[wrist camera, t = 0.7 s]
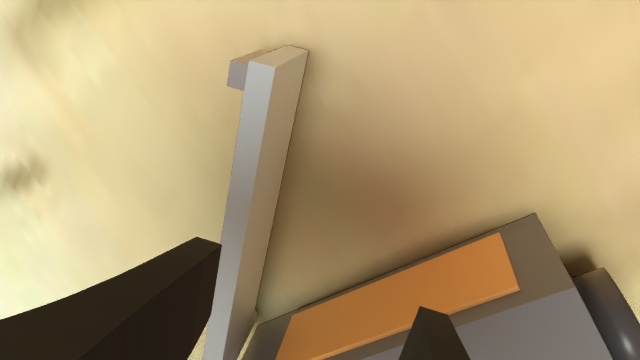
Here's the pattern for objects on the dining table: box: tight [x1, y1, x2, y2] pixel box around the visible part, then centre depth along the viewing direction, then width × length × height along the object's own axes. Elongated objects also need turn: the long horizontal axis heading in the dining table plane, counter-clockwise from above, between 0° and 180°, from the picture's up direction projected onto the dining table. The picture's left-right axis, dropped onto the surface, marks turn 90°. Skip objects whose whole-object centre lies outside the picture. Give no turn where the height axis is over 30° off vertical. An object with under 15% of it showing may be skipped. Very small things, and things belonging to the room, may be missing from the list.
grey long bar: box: [202, 45, 308, 360], centre depth 18 cm, size 14×2×4 cm, turn 167°
